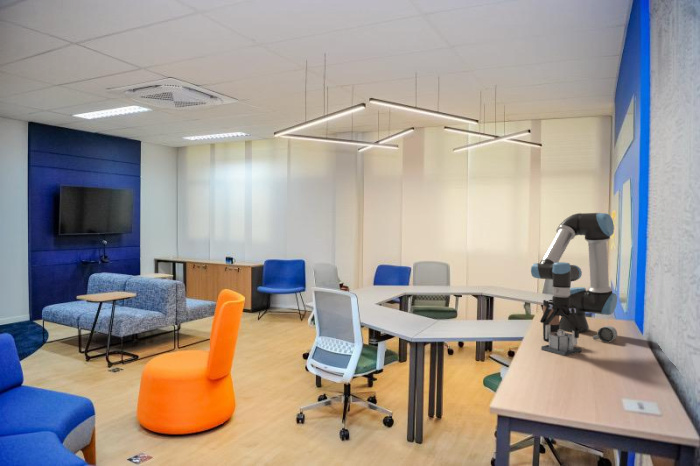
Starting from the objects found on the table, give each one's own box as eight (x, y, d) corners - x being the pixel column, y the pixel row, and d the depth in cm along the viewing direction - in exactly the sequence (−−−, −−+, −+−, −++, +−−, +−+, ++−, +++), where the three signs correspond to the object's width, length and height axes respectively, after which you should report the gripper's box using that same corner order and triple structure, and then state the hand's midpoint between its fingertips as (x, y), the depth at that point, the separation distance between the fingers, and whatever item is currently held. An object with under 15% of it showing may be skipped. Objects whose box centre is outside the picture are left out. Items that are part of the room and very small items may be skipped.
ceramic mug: (618, 340, 235) (617, 325, 235) (614, 343, 229) (614, 328, 229) (595, 337, 242) (594, 322, 242) (590, 340, 236) (590, 325, 236)
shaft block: (556, 345, 225) (557, 326, 225) (580, 351, 215) (580, 331, 215) (541, 349, 219) (541, 329, 218) (565, 355, 208) (565, 334, 208)
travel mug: (557, 343, 230) (557, 302, 230) (540, 340, 235) (541, 301, 234) (560, 339, 236) (561, 300, 236) (545, 337, 241) (545, 299, 240)
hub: (557, 343, 224) (557, 331, 224) (577, 348, 215) (577, 335, 215) (544, 346, 218) (544, 333, 218) (564, 351, 210) (564, 338, 210)
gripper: (532, 293, 225) (532, 337, 225) (582, 300, 204) (581, 348, 204) (542, 291, 229) (542, 334, 229) (592, 298, 208) (591, 346, 208)
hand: (560, 341), depth 217 cm, fingers open, 13 cm apart
